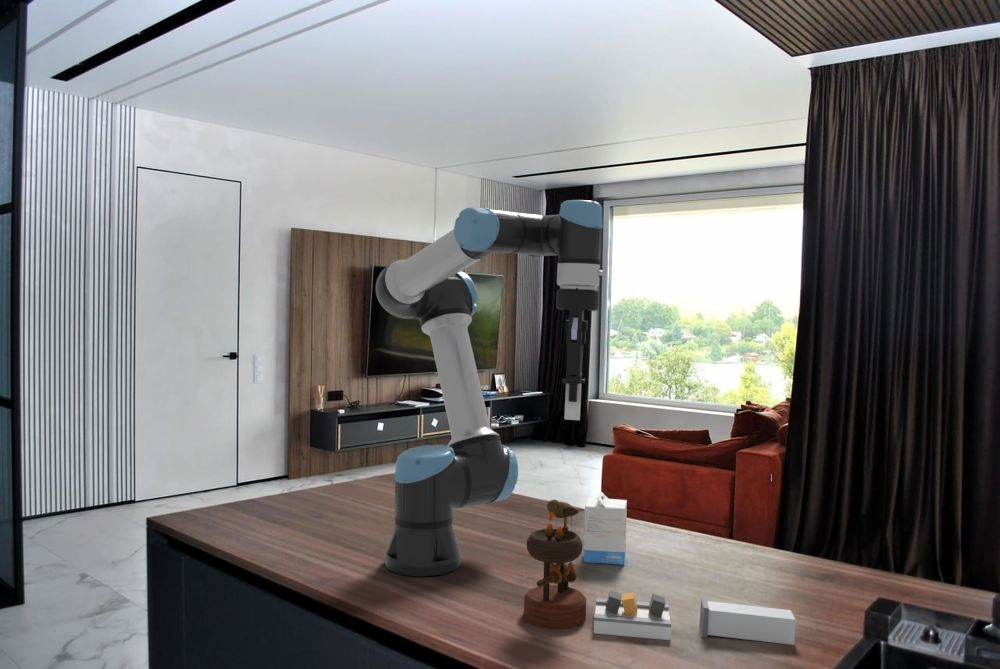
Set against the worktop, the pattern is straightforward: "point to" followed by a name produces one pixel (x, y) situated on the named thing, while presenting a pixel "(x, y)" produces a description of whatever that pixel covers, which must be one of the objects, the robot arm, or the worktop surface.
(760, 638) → the post
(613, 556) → the ink box
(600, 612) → the breaker board
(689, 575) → the worktop surface
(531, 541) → the music box
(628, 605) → the paddle
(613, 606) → the paddle
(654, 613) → the paddle
